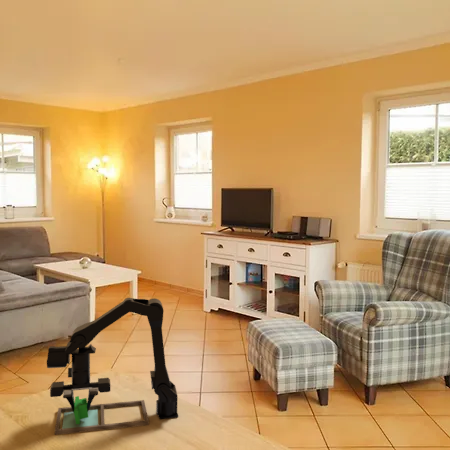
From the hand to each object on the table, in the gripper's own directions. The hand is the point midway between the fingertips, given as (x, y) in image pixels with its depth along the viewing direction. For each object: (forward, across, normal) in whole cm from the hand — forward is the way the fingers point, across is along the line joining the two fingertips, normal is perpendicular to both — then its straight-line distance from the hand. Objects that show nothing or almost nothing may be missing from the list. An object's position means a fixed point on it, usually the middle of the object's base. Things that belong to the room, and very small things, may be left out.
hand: (81, 412), depth 159 cm
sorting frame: (+3, -7, 0) cm, 7 cm away
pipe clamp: (+2, 0, -1) cm, 2 cm away
